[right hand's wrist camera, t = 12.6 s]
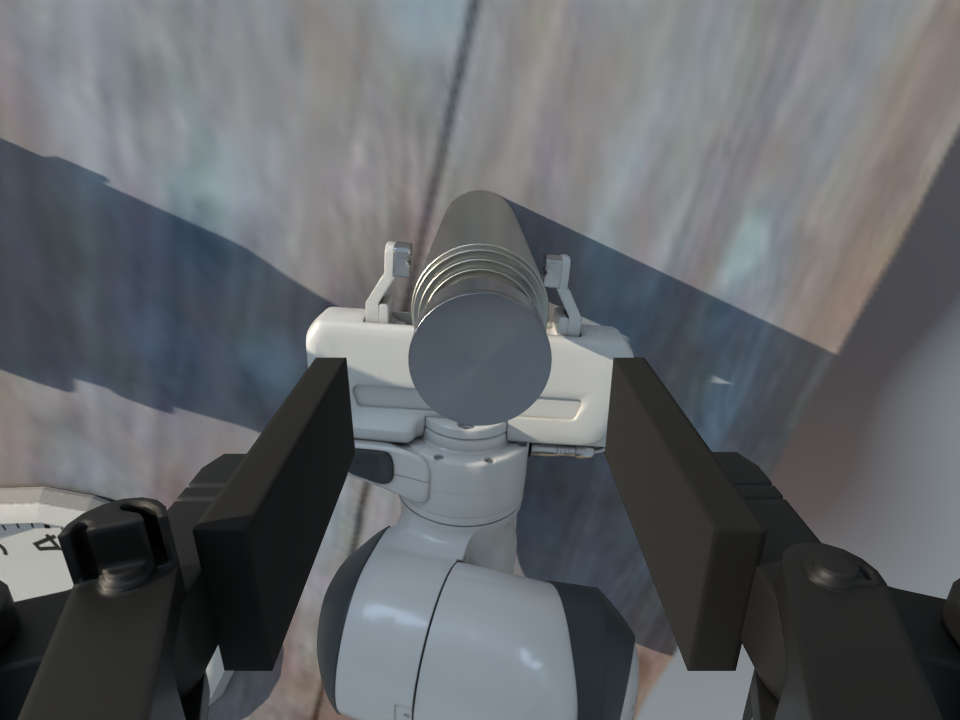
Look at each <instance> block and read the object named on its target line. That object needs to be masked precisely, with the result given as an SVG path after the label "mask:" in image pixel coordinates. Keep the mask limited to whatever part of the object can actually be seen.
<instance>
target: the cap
mask: <svg viewBox="0 0 960 720" xmlns="http://www.w3.org/2000/svg"><path fill="white" fill-rule="evenodd" d="M551 364H552V353H551V347H550V342H549V339H548V336H547V333H546V330H545V327H544V324H543V321H542V318H541V316H540V314H539V312H538V310H537V308H536V307H535V306H534V304H533V303H532V302H531V301H530V299H529V298H528V297H527V296H526V295H524V294H523V293H522V292H521V291H519V290H518V289H516V288H515V287H513V286H511V285H509V284H507V283H504V282H501V281H498V280H493V279H487V278H474V279H467V280H462V281H459V282H456V283H453V284H451V285H449V286H447V287H445V288H444V289H442V290H441V291H439V292H438V293H437V294H436V295H434V296H433V297H432V298H431V299H430V301H429V302H428V303H427V304H426V305H425V307H424V309H423V310H422V312H421V314H420V316H419V318H418V321H417V324H416V327H415V330H414V333H413V336H412V339H411V343H410V346H409V354H408V365H409V372H410V376H411V379H412V382H413V384H414V386H415V389H416V390H417V392H418V393H419V395H420V396H421V398H422V399H423V400H424V401H425V403H426V404H427V405H429V406H430V407H431V408H432V409H433V410H434V411H436V412H437V413H438V414H440V415H442V416H444V417H445V418H447V419H450V420H452V421H454V422H458V423H461V424H466V425H472V426H487V425H494V424H499V423H502V422H505V421H508V420H510V419H513V418H515V417H517V416H518V415H520V414H522V413H523V412H524V411H526V410H527V409H528V408H529V407H531V406H532V405H533V404H534V402H535V401H536V400H537V399H538V398H539V396H540V395H541V394H542V392H543V390H544V388H545V387H546V384H547V382H548V379H549V376H550V372H551Z"/></svg>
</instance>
